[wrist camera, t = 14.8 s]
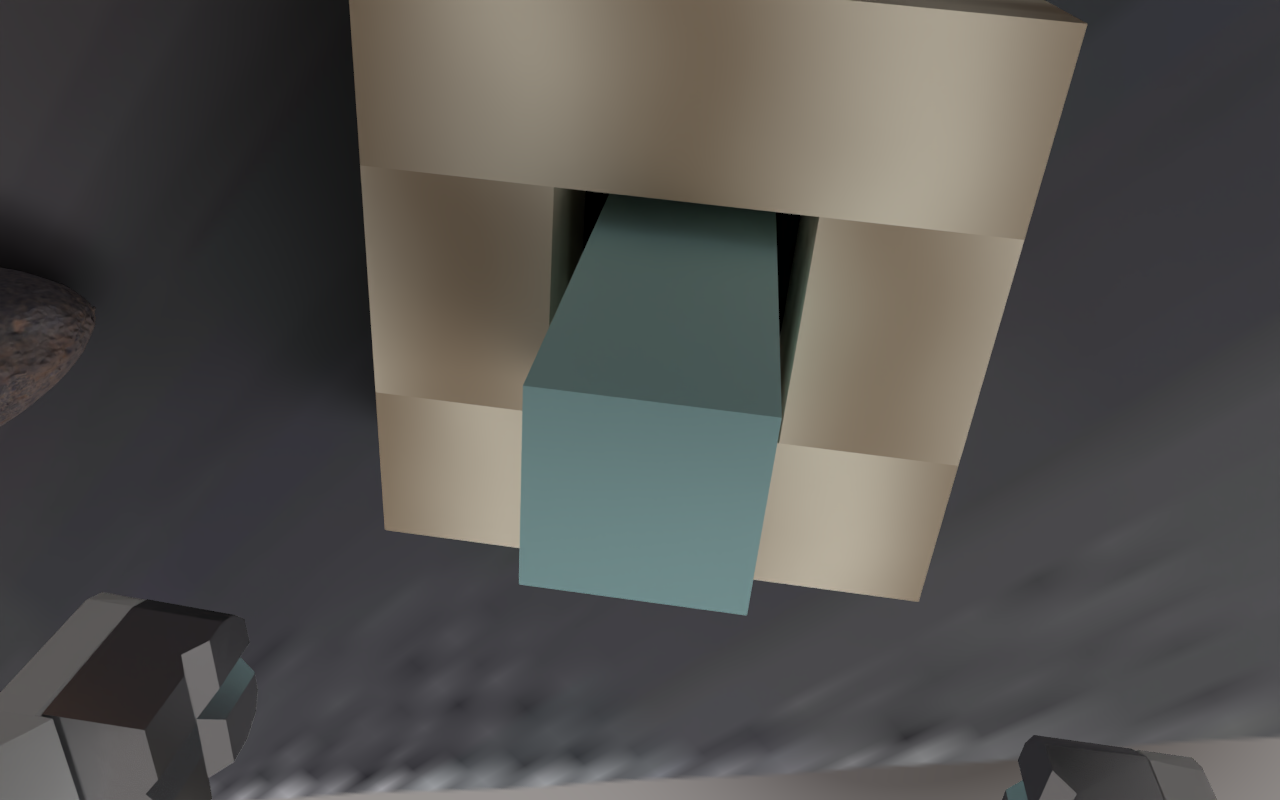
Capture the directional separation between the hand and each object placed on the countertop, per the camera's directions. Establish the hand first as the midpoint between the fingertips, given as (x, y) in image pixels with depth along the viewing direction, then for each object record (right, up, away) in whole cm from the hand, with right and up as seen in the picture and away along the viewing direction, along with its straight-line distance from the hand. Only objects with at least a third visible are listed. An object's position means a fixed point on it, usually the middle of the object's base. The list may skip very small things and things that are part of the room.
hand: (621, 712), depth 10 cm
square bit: (+1, +7, +12) cm, 14 cm away
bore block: (+1, +7, +12) cm, 14 cm away
